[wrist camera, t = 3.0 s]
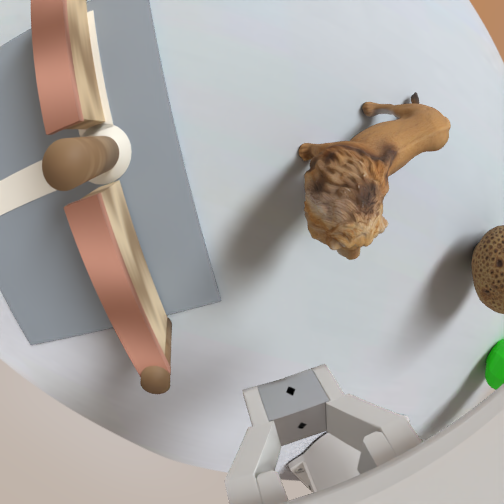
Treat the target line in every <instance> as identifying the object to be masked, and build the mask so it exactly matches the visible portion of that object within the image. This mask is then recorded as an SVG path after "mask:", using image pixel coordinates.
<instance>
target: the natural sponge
mask: <svg viewBox="0 0 504 504" xmlns="http://www.w3.org/2000/svg"><path fill="white" fill-rule="evenodd" d="M471 265H472V276H473V281H474V287H475V290H476V292H477V295H478V297H479V299H480V300H481V301H482V303H484V304H485V305H486V306H487V307H489V308H490V309H492V310H493V311H495V312H498V313H502V314H504V225H502V226H497V227H495V228H493V229H491V230H489V231H488V232H487V233H486V234H485V235H484V236H483V237H482V239H481V240H480V242H479V243H478V244H477V245H476V247H475V249H474V251H473V256H472V262H471Z"/></svg>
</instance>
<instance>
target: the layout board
mask: <svg viewBox="0 0 504 504" xmlns="http://www.w3.org/2000/svg"><path fill="white" fill-rule="evenodd" d="M86 4H87V17H88V26H89V34H90V41H91V48H92V55H93V61H94V67H95V73H96V78H97V83H98V89H99V94H100V99H101V104H102V108H103V113H104V117H105V122H103V123H100V124H97V125H95V126H92V127H89V128H87V129H64V130H61V131H59V132H57V133H55V134H52V135H46V131H45V127H44V122H43V117H42V112H41V106H40V100H39V94H38V88H37V81H36V73H35V65H34V55H33V44H32V28H31V29H29V30H27V31H26V32H24V33H22V34H20V35H19V36H17V37H15V38H14V39H12V40H10V41H9V42H7V43H6V44H4V45H2V46H1V47H0V289H1V292H2V294H3V296H4V298H5V300H6V302H7V304H8V305H9V307H10V309H11V311H12V313H13V315H14V317H15V319H16V320H17V322H18V324H19V326H20V327H21V329H22V331H23V333H24V334H25V336H26V338H27V339H28V341H29V343H30V344H31V345H34V344H39V343H44V342H49V341H54V340H59V339H64V338H69V337H73V336H78V335H83V334H87V333H92V332H97V331H101V330H106V329H110V328H113V326H112V324H111V322H110V320H109V318H108V316H107V314H106V312H105V309H104V307H103V305H102V303H101V301H100V299H99V297H98V294H97V292H96V290H95V288H94V286H93V283H92V281H91V279H90V276H89V274H88V272H87V269H86V267H85V264H84V262H83V260H82V257H81V255H80V252H79V249H78V247H77V244H76V242H75V239H74V236H73V233H72V231H71V228H70V225H69V222H68V219H67V216H66V213H65V210H64V207H65V206H66V205H68V204H70V203H72V202H75V201H78V200H80V199H81V198H83V197H84V196H86V195H87V194H89V193H91V192H92V191H94V190H95V189H97V188H98V187H101V186H104V185H106V184H109V183H112V182H115V181H118V180H120V183H121V187H122V190H123V194H124V197H125V200H126V204H127V207H128V210H129V213H130V216H131V220H132V223H133V226H134V229H135V232H136V235H137V238H138V241H139V244H140V247H141V249H142V252H143V255H144V258H145V261H146V264H147V266H148V269H149V272H150V274H151V277H152V280H153V282H154V285H155V288H156V290H157V293H158V295H159V298H160V300H161V303H162V306H163V308H164V310H165V313H166V315H169V314H173V313H177V312H181V311H185V310H189V309H193V308H197V307H201V306H205V305H208V304H212V303H216V302H220V301H221V298H220V294H219V291H218V287H217V284H216V281H215V277H214V274H213V270H212V267H211V263H210V260H209V256H208V253H207V249H206V245H205V242H204V238H203V235H202V231H201V227H200V224H199V220H198V216H197V212H196V209H195V205H194V201H193V197H192V193H191V190H190V186H189V182H188V178H187V174H186V170H185V166H184V162H183V158H182V154H181V150H180V145H179V141H178V137H177V133H176V129H175V124H174V120H173V116H172V111H171V107H170V102H169V98H168V93H167V89H166V84H165V80H164V75H163V70H162V65H161V60H160V55H159V51H158V45H157V40H156V35H155V30H154V25H153V19H152V14H151V8H150V3H149V0H91V1H88V2H86ZM89 136H108V137H111V138H112V139H113V140H115V142H116V143H117V145H118V147H119V159H118V161H117V163H116V165H115V166H114V167H113V168H112V169H111V170H109V171H107V172H105V173H103V174H101V175H99V176H97V177H95V178H93V179H91V180H89V181H87V182H85V183H83V184H81V185H79V186H77V187H75V188H73V189H71V190H68V191H59V190H56V189H54V188H52V187H51V186H50V185H49V184H48V183H47V181H46V180H45V178H44V175H43V171H42V160H43V156H44V154H45V152H46V150H47V148H48V147H49V146H50V145H51V144H52V143H53V142H55V141H57V140H59V139H63V138H74V137H89Z"/></svg>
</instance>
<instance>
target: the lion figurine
mask: <svg viewBox="0 0 504 504" xmlns="http://www.w3.org/2000/svg"><path fill="white" fill-rule="evenodd" d="M411 102H412V104H401V105H392V104H377V103H373V102H365V103H364V104H363V106H362V110H363V112H364V114H365V115H366V116H368V117H372V116H375V115H378V114H390V115H392V114H393V115H394V116H395V117H397V118H399V119H397V120H394V121H387V122H382V123H378V124H375V125H373V126H371V127H369V128H367V129H365V130H363V131H362V132H360V133H359V134H357V135H356V136H355V137H353V138H352V139H351V140H350V141H340V142H334V143H324V144H311V143H304V144H302V145H301V146H300V148H299V156H300V157H301V158H302V159H303V160H304V161H307V160H310V159H311V161H310V170H309V171H307V172H306V173H305V176H304V177H305V185H304V186H305V192H306V194H305V199H306V201H305V202H304V204H305V208H304V211H305V217H306V219H307V221H308V230H309V232H310V234H311V236H312V238H314V239H317V240H319V241H320V242H322V243H324V244H327V245H328V246H329V248H330V249H332V250H337V252H338V253H339V254H340V255H342V256H344V257H346V258H347V259H349V260H352V259H356V258H357V257H358V256H359V255H360V248H361V247H362V246H368V245H370V244H371V243H372V241H373V239H374V238H376V237H377V236H378V234H380V233H382V232H383V231H384V230H385V228H386V227H387V225H388V222H387V220H386V219H385V218H384V217H383V216H382V214H383V203H382V202H383V199H384V196H385V195H386V193H387V192H388V191H389V184H388V176H390V175H392V174H393V173H395V172H396V171H398V170H399V169H400V168H402V167H403V166H404V165H406V164H407V163H408V162H409V161H410V160H411V159H412V158H414V157H415V156H416V155H418V154H420V153H422V152H426V151H437V150H439V149H441V148H442V147H443V146H444V145H445V144H446V142H447V141H448V138H449V129H450V121H449V120H448V119H447V118H446V117H444V116H443V115H442V114H441V113H440V112H439V111H438V110H436V109H434V108H432V107H429V106H426V105H422V104H419V98H418V95H417V93H416V92H415V93H414V94H413V95H412V96H411Z"/></svg>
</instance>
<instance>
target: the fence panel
mask: <svg viewBox="0 0 504 504" xmlns="http://www.w3.org/2000/svg"><path fill="white" fill-rule="evenodd" d="M64 210H65V213H66V216H67V219H68V222H69V225H70V228H71V231H72V233H73V236H74V239H75V242H76V244H77V247H78V249H79V252H80V255H81V257H82V260H83V262H84V264H85V267H86V269H87V272H88V274H89V276H90V279H91V281H92V283H93V286H94V288H95V290H96V292H97V294H98V297H99V299H100V301H101V303H102V305H103V307H104V309H105V312H106V314H107V316H108V318H109V320H110V322H111V324H112V326H113V328H114V330H115V332H116V333H117V335H118V337H119V339H120V341H121V343H122V345H123V347H124V349H125V350H126V352H127V354H128V356H129V358H130V359H131V361H132V363H133V365H134V366H135V368H136V370H137V372H138V373H139V375H140V377H141V381H140V383H141V386H142V388H143V389H144V390H145V391H147V392H149V393H152V394H162V393H165V392H166V391H168V390H169V388H170V375H171V367H170V363H171V334H172V323H171V320H170V319H169V318H168V317H167V315H166V313H165V310H164V308H163V306H162V303H161V300H160V298H159V295H158V293H157V290H156V288H155V285H154V282H153V280H152V277H151V274H150V272H149V269H148V266H147V264H146V261H145V258H144V255H143V252H142V249H141V247H140V244H139V241H138V238H137V235H136V232H135V229H134V226H133V223H132V220H131V216H130V213H129V210H128V207H127V204H126V200H125V197H124V194H123V190H122V187H121V183H120V180H118V181H115V182H112V183H109V184H106V185H104V186H101V187H98V188H97V189H95V190H94V191H92V192H91V193H89V194H87V195H86V196H84V197H83V198H81V199H80V200H78V201H75V202H72V203H70V204H68V205H66V206H65V207H64Z"/></svg>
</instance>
